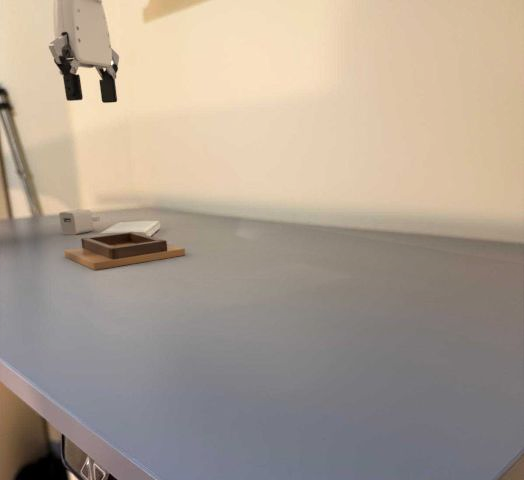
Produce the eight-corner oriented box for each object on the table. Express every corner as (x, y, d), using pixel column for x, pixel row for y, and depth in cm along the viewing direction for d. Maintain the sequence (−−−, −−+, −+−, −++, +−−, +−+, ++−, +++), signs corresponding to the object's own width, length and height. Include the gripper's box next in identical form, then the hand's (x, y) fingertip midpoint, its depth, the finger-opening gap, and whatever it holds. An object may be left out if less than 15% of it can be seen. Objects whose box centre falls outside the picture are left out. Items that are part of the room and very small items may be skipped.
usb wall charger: (62, 233, 102) (58, 212, 101) (89, 228, 108) (86, 207, 106) (76, 234, 100) (73, 212, 99) (104, 229, 106) (101, 208, 104)
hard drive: (117, 221, 104) (98, 232, 92) (160, 220, 104) (145, 230, 92) (118, 230, 104) (99, 241, 93) (160, 229, 104) (147, 240, 93)
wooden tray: (64, 257, 81) (62, 240, 80) (149, 244, 89) (147, 229, 88) (94, 270, 72) (92, 251, 72) (185, 255, 80) (184, 238, 79)
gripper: (94, 4, 102) (106, 104, 108) (23, -16, 87) (42, 100, 93) (126, 0, 99) (137, 102, 105) (59, -23, 84) (76, 98, 91)
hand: (92, 101), depth 99 cm, fingers open, 9 cm apart
